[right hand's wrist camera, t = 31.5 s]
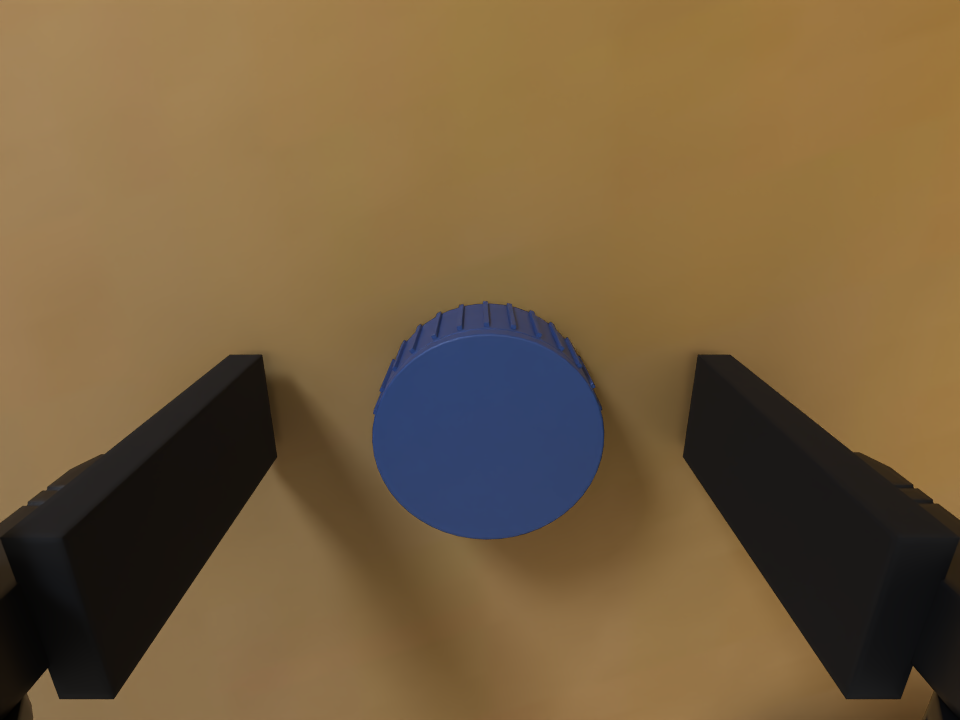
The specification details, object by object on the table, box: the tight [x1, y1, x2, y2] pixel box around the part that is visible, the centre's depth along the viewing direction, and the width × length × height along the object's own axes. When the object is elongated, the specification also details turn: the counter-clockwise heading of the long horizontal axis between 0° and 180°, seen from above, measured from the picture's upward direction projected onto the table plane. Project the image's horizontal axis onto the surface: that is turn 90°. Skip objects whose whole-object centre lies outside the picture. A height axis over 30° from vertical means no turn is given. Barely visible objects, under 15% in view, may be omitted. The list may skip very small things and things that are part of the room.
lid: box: [372, 301, 604, 539], centre depth 13 cm, size 5×5×2 cm
